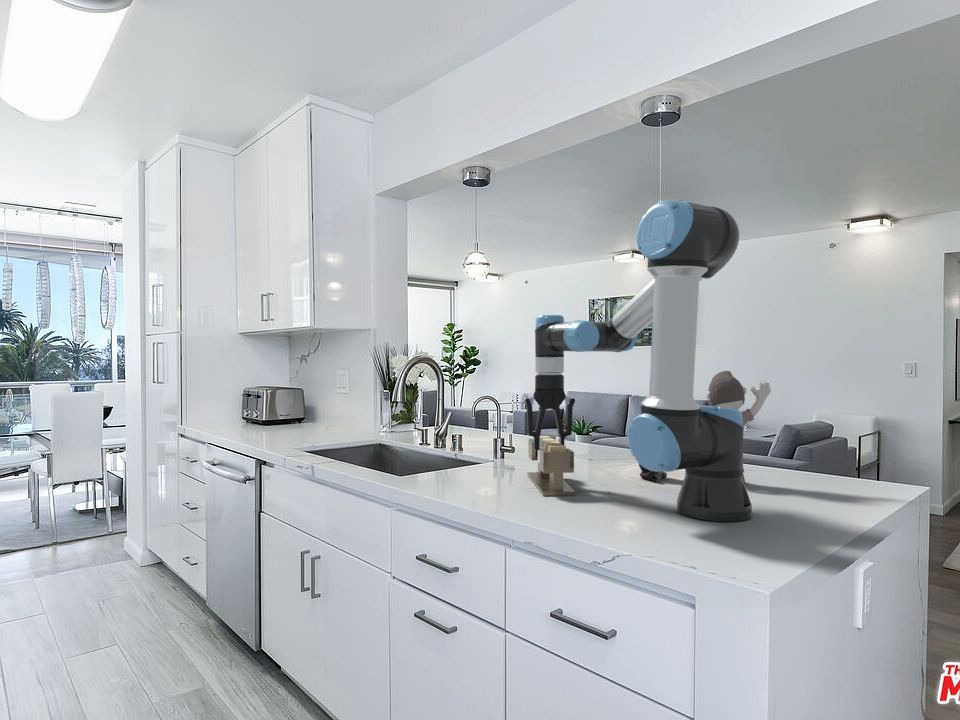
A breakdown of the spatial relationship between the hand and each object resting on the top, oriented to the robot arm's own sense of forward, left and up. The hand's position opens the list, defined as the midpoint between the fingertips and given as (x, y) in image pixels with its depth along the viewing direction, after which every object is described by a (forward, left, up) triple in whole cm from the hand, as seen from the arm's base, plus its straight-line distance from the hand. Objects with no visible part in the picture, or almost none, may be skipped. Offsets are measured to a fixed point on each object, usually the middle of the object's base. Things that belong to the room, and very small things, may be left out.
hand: (549, 462), depth 160 cm
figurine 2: (-1, -50, -6) cm, 50 cm away
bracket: (0, 0, -6) cm, 6 cm away
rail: (0, 0, +1) cm, 1 cm away
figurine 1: (+5, -30, -6) cm, 31 cm away
